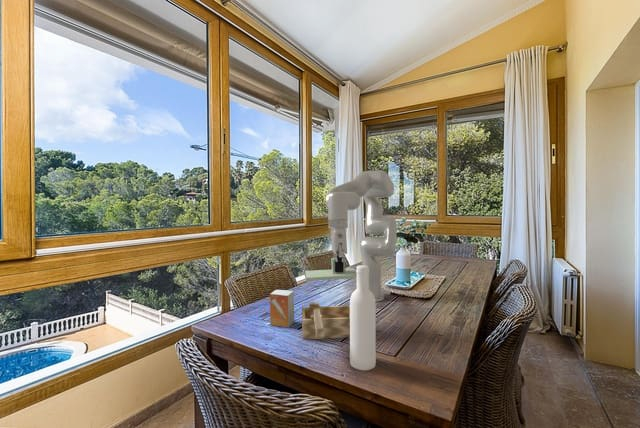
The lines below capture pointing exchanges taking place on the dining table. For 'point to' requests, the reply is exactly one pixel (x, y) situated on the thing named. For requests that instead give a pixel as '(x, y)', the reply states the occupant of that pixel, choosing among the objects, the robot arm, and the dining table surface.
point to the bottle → (362, 323)
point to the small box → (282, 308)
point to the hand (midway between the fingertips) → (338, 270)
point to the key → (318, 324)
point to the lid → (331, 273)
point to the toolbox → (326, 321)
